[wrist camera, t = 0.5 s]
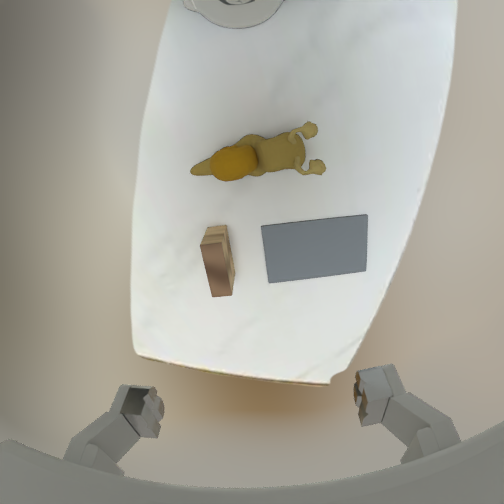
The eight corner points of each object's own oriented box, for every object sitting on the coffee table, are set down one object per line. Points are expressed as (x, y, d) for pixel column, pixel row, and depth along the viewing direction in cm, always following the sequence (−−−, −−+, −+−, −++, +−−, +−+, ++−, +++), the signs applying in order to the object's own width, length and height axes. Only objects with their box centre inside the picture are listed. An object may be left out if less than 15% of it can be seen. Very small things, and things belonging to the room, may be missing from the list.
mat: (261, 226, 54) (261, 226, 54) (366, 214, 53) (367, 215, 52) (268, 282, 59) (268, 283, 59) (365, 270, 58) (366, 271, 58)
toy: (315, 164, 49) (328, 175, 40) (198, 192, 52) (185, 209, 43) (305, 119, 46) (317, 120, 37) (185, 149, 48) (169, 157, 39)
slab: (207, 227, 55) (199, 245, 47) (226, 224, 54) (221, 242, 47) (217, 274, 59) (212, 297, 52) (235, 272, 59) (232, 295, 51)
